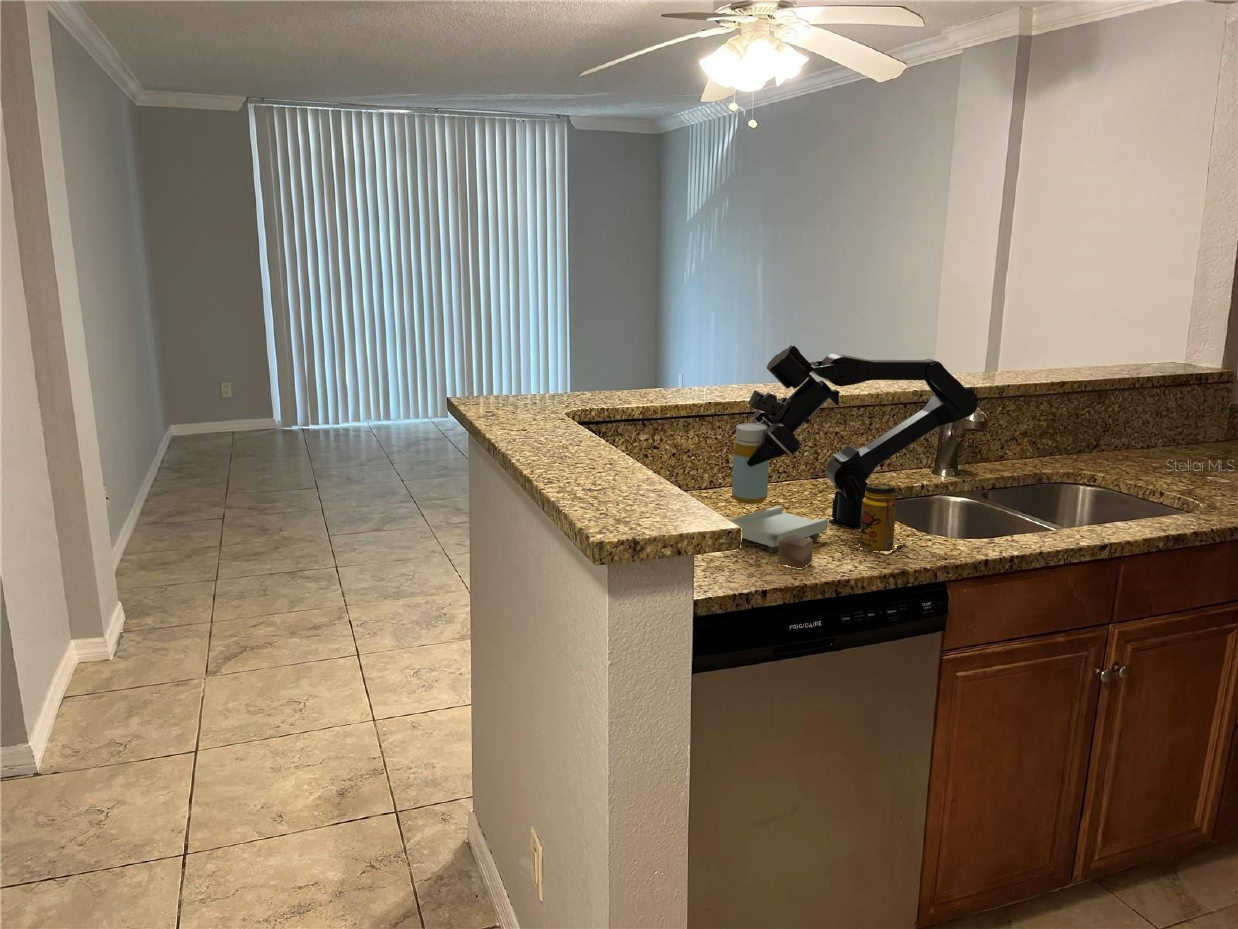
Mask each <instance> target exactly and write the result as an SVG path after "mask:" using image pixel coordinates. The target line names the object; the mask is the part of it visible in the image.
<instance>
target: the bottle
mask: <svg viewBox="0 0 1238 929" xmlns="http://www.w3.org/2000/svg"><path fill="white" fill-rule="evenodd" d="M764 430H765V431H766V432H767V433H768V427H767V426H766V425H763V424H758V423H753V422H746V423H739V424H737V425H736V427H735V431H736V432H735V444H734V447H733V454H732V455H733V456H732V458H733V459H732V481H731V483H732V484H731V485H732V486H731V494H732V495H731V497H732V498H733V499H734V500H735V501H736V502H738V503H741V504H744V505H745V504H746V505H757V504H761V503H763V502H764V501H765V500H766V499H767V498H768V489H769V488H768V486H769V468H770V467H769V465H770V460H767V461H765V462H762V463H760V464H757V465H754V466H752V467H750V466H749V465H748V464H747V461H748V460H749V459H750V457H751V456H752V455H753V453H754V452H755V451H756V449H757V448H758V447H759V446H760V444H761V443H762V442H763V433H764Z"/></svg>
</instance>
